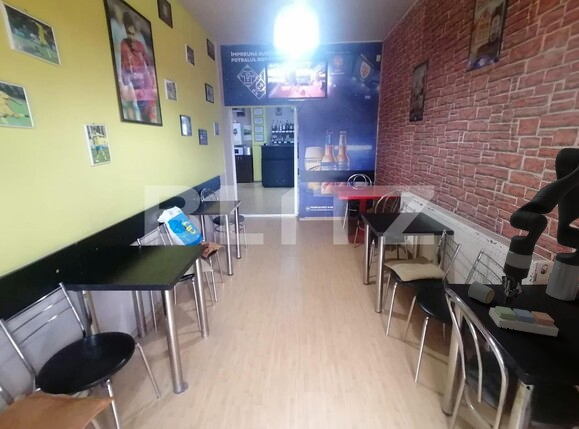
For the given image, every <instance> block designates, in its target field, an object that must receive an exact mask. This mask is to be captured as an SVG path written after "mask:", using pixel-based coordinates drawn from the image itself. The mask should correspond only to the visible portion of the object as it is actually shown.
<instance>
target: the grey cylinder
mask: <svg viewBox="0 0 579 429" xmlns="http://www.w3.org/2000/svg"><path fill="white" fill-rule="evenodd" d="M495 293H496V292H495V290H494V289H493V288H491V287H489V286H487V285H485V284H483V283H481V282H479V281H477V280H476V281H473V282H472V283H471V284H470V286H469V288H468V291H467V294H468V295H467V296H468V297H470V298H472V299H474V300H477V301H479V302H481V303H484V304H491V302H492V301H493V299H494V297H495V295H496V294H495Z"/></svg>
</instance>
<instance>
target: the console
mask: <svg viewBox="0 0 579 429" xmlns="http://www.w3.org/2000/svg"><path fill="white" fill-rule="evenodd" d="M488 315H489V316H490V318H491V319H492V321H493V322H494V324H495V325H496V326H497V327H498V328H501V327H502V328H503V329H507V328H509V330H513V329H514V330H515V331H520V332H525V333H526V332H527V333H533V334H539V335H545V336H550V337H552V336H553V337H558V332H559V330H560V329H559V328H558V327H557V326H556V325H555V324H553V326H548V325H542V324H537V323H536V322H535V321H534V323H529V322H522V321H518V320H517V319H516V318H515V320H509V319H503V318H499V317H498V315H497V314H496V313H495V307H490V308H489V311H488ZM514 330H513V331H514Z"/></svg>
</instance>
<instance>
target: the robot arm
mask: <svg viewBox="0 0 579 429" xmlns="http://www.w3.org/2000/svg"><path fill="white" fill-rule="evenodd" d="M554 168H555V175H556V180H554V181H553V182H550V183H548V184H546V185H545V186H542V187H541V189H539V190H538V191H537V193H536V194H535V195H534V196H533V197H532V199H531V200H529V201H527V202H526V203H525V204H523V205H522V206H520V207H519V208H517V209H515V211H513V213H511V215H510V218H509V224H510V226H511V227H512V228H514V229H515V230H516V229H517V230H521V231H525V232H528V233H527V234H526V235H520V234H519V235H513V236H512V237H511V240H510V242H509V247H508V250H507V253H506V256H505V261H504V265H503V269H502V273H503V274H505V275H502V276H501V285H502V291H503V292H504V299H503V303H504V305H506V306H509V307H511V306H512V304H513V300H514V299H518V298H520V297H521V296H522V295H523V294H524V293H525V290H524V289H522V285H523V280H525V279H527V278H528V277H529V272H530V270H531V266H532V260H533V255H534V250H535V246H536V244H537V243H538V240H539V239H540V237H541V236H542V234H543V233H544V231H545V230H546V228H547V226H548V224H549V221H548V218H547V217H546V215H549V214H550V213H551V212H552V211H553V210H554V209H555V208H556V207H557V212H558V213H557V214H558V219H557V220H558V221H557V231H556V242H557V244H558V245H559V246H563V247H566V248H571V249H574V250H575V251H573V252H559V253H556V255H555V258H554V261H553V262H554V263H553V266H552V269H551V272H550V276H549V278H548V279H549V280H548V282H547V286H546V289H545V293H546V294H547V295H548V296H550V297H552V298H555V299H558V300H561V301H565V302H566V301H575V300H576V295H577V293H578V290H579V228H578V227H573V226H571V224H572V223H573V222H576V221H577V220H578V219H579V148H578V147H565V148H562V149H559V151H558V152H557V154H556V157H555V160H554Z"/></svg>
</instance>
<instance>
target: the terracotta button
mask: <svg viewBox="0 0 579 429" xmlns="http://www.w3.org/2000/svg"><path fill="white" fill-rule="evenodd" d="M530 313H531V314H532V315H533V316H534V318H535V320H534V321H535V322H536V323H537V324H542V325H548V326H553V324H554V323H555V319H553V318H552V317H551V316H550V315H549V314H548V313H546V312H539V311H530ZM554 325H555V324H554Z"/></svg>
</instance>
